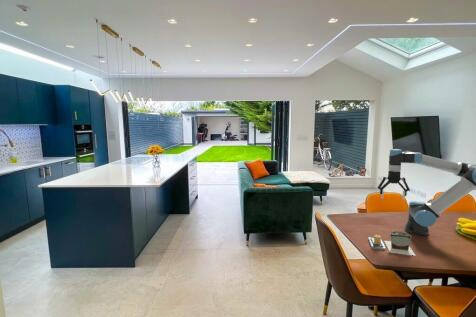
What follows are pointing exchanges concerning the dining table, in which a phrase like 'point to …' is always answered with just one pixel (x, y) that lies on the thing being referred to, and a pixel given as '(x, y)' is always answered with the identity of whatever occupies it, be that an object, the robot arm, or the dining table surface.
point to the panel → (375, 246)
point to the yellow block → (377, 239)
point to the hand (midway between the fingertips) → (392, 199)
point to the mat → (405, 252)
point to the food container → (400, 240)
